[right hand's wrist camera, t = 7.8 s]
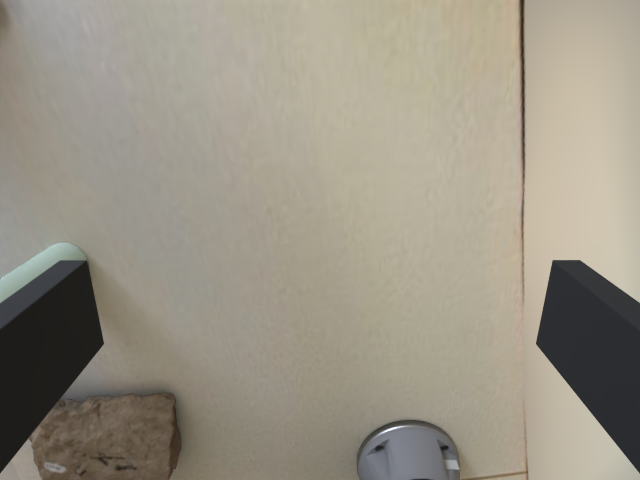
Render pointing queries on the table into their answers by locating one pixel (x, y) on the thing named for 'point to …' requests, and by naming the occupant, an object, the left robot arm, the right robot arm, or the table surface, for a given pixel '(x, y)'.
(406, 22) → the table surface
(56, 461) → the stone
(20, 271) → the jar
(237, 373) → the table surface
